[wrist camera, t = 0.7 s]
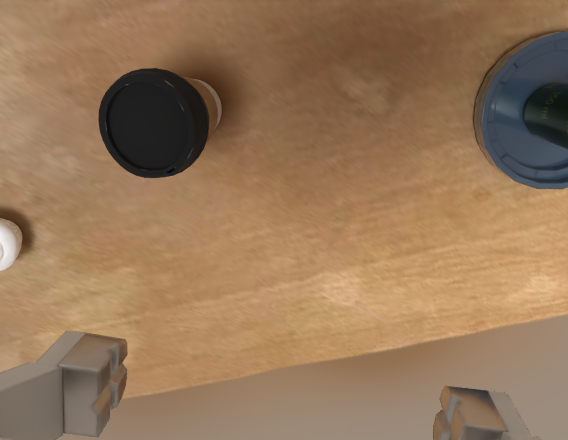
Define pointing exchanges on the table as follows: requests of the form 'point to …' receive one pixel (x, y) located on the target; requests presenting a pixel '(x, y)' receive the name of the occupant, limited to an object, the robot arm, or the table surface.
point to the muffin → (9, 243)
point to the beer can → (549, 114)
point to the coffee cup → (157, 121)
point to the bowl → (522, 112)
